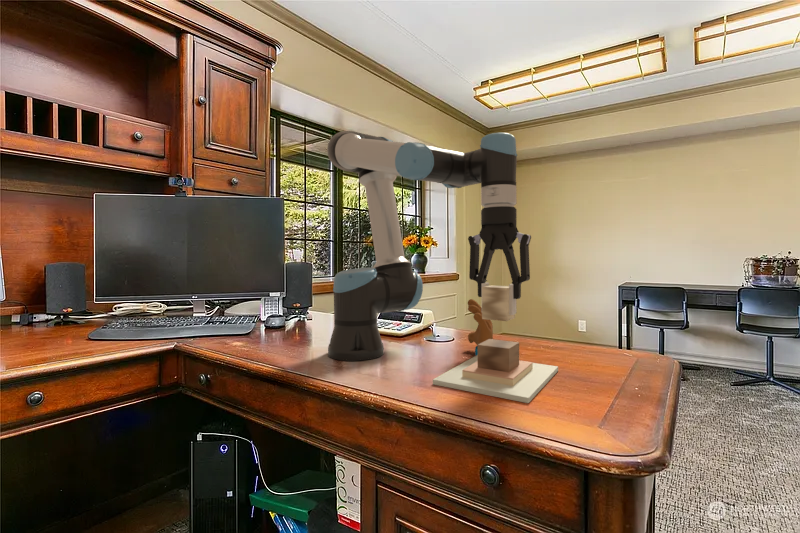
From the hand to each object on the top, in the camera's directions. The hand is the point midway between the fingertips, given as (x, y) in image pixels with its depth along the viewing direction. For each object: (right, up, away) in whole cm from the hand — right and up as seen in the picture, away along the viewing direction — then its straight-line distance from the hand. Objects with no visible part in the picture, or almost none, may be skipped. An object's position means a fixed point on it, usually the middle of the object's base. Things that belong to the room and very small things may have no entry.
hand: (498, 312), depth 89 cm
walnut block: (0, -12, +1) cm, 12 cm away
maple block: (0, -1, 0) cm, 1 cm away
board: (0, -14, +1) cm, 14 cm away
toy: (0, -14, +21) cm, 25 cm away
